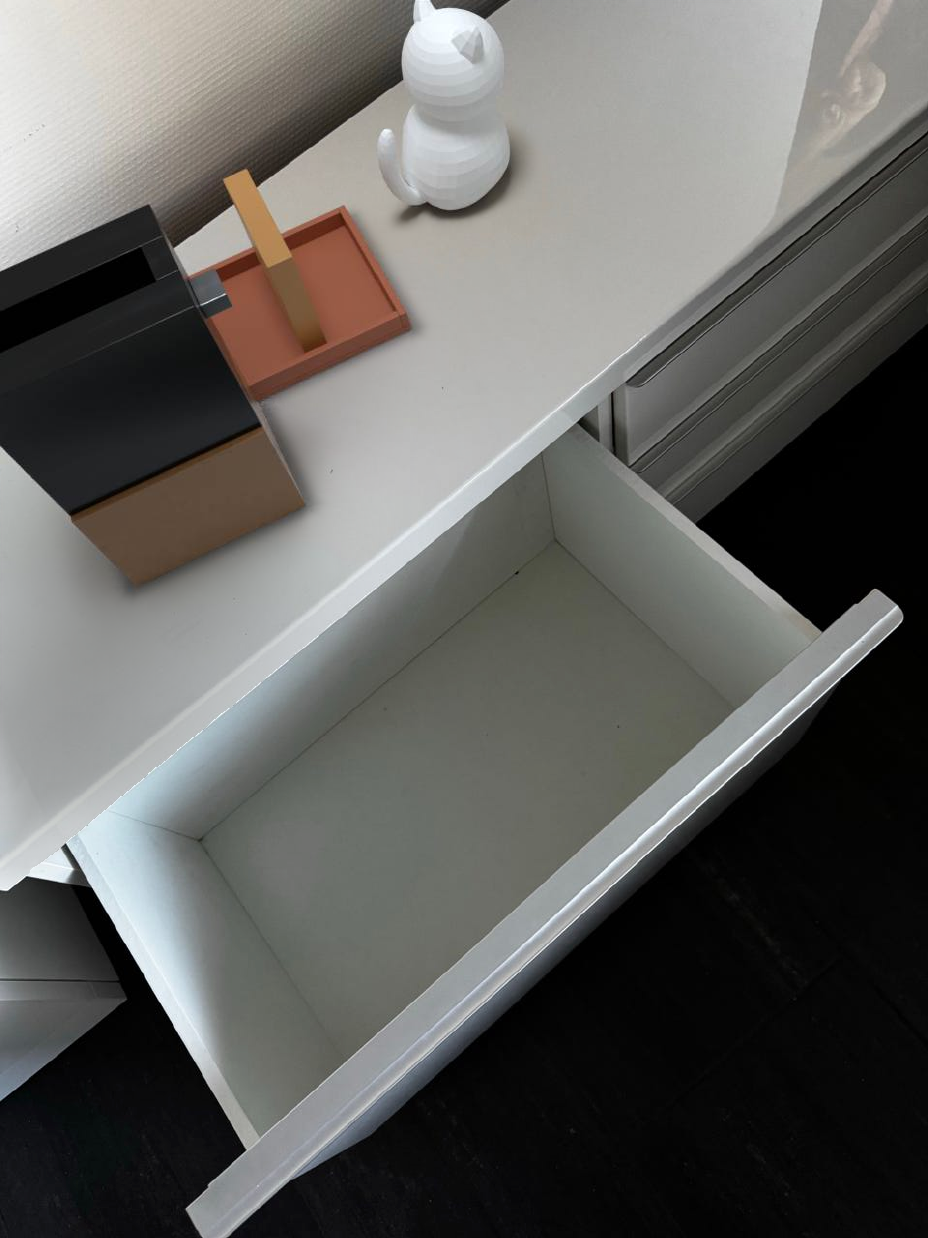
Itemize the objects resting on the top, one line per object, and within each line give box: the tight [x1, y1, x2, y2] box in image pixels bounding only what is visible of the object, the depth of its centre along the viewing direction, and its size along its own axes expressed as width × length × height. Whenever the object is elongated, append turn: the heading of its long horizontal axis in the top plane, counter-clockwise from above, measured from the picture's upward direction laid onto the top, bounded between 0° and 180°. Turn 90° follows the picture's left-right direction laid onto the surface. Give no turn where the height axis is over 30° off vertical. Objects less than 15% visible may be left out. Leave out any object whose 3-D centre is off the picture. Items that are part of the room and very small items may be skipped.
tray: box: [188, 204, 412, 402], centre depth 84 cm, size 15×13×2 cm
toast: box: [222, 168, 327, 353], centre depth 80 cm, size 10×2×10 cm, turn 25°
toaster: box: [0, 203, 307, 587], centre depth 69 cm, size 16×10×22 cm, turn 115°
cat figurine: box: [376, 0, 511, 211], centre depth 82 cm, size 9×12×15 cm
